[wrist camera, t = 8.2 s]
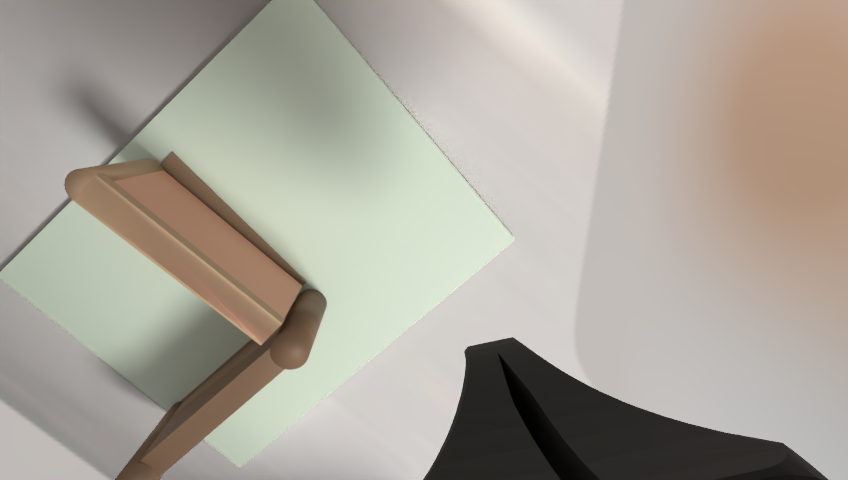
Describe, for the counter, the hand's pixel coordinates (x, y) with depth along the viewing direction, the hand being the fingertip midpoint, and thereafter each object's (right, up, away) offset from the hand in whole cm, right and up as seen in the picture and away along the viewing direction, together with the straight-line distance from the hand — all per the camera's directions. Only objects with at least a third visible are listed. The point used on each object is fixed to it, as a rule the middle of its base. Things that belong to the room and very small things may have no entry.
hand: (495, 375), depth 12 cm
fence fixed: (-10, -2, +9) cm, 14 cm away
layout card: (-9, +3, +8) cm, 13 cm away
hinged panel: (-11, +4, +7) cm, 14 cm away
